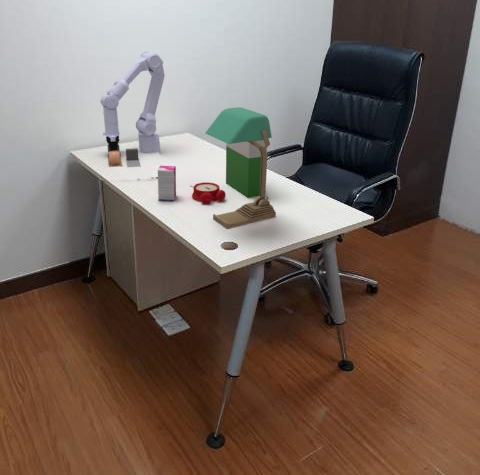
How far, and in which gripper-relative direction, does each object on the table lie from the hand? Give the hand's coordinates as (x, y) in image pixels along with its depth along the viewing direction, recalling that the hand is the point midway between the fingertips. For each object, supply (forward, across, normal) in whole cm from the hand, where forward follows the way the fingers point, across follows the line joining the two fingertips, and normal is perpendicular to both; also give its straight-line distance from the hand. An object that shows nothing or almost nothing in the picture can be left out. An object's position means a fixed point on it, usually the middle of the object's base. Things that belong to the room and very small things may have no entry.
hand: (114, 153), depth 219 cm
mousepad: (+3, +32, +18) cm, 37 cm away
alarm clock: (+3, +56, +31) cm, 65 cm away
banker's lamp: (+2, +76, +39) cm, 86 cm away
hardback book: (+2, +49, +47) cm, 68 cm away
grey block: (+2, +12, +8) cm, 15 cm away
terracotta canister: (+1, +12, 0) cm, 13 cm away
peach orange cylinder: (+2, +8, 0) cm, 8 cm away
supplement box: (+2, +53, +17) cm, 56 cm away
